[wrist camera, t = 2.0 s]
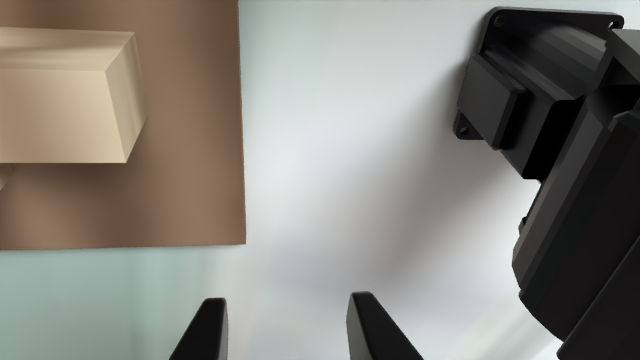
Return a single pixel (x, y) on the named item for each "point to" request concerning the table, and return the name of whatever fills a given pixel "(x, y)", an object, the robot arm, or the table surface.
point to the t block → (68, 96)
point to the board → (144, 136)
